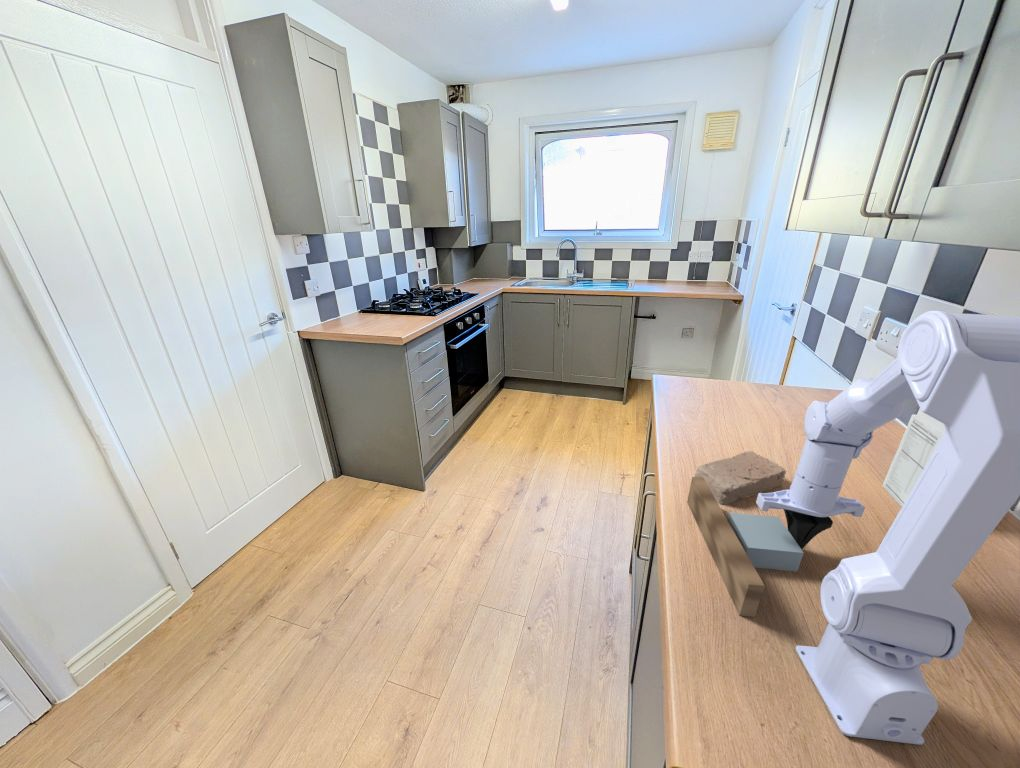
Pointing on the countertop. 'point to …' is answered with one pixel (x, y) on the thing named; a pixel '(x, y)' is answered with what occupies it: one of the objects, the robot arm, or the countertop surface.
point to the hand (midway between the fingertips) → (794, 544)
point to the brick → (740, 476)
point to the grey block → (766, 541)
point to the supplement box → (912, 455)
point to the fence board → (725, 549)
